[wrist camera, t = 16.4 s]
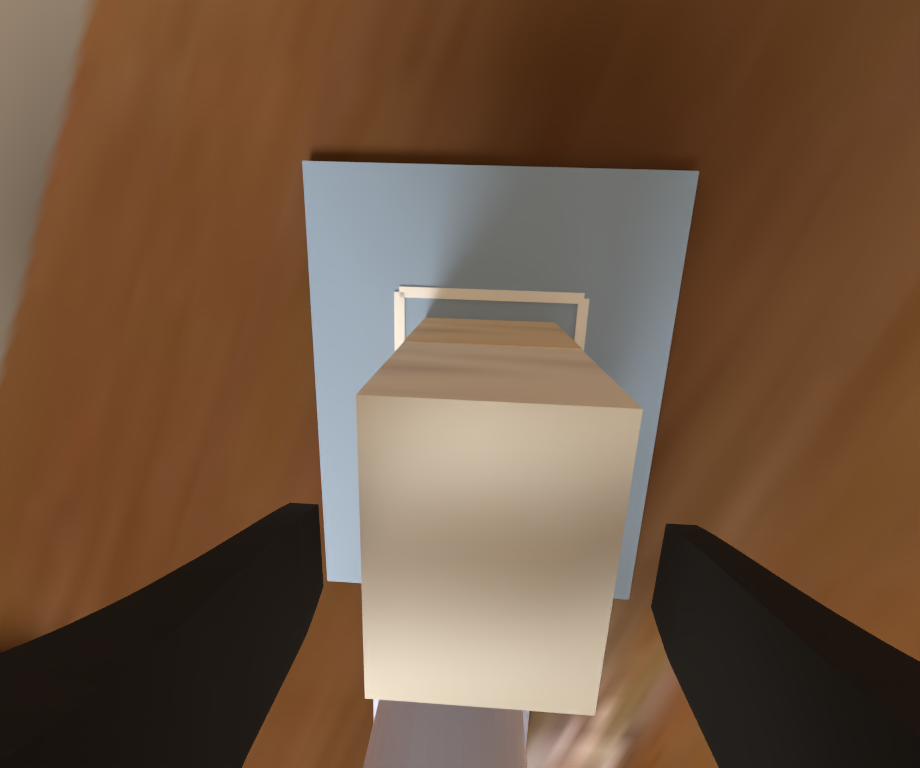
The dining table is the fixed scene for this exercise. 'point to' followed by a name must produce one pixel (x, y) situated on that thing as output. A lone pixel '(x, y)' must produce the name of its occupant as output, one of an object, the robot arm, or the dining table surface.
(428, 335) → the maple brick
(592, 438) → the birch brick
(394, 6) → the dining table surface
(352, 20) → the dining table surface
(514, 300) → the board
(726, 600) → the robot arm
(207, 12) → the dining table surface
